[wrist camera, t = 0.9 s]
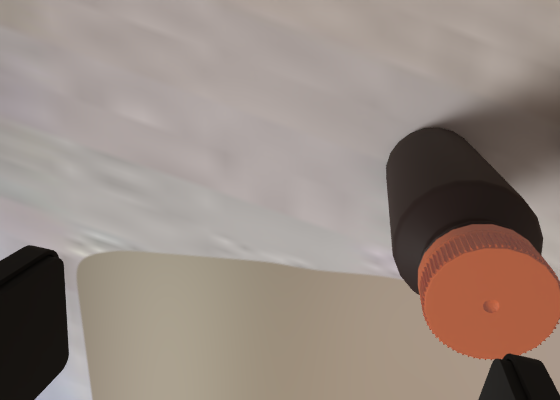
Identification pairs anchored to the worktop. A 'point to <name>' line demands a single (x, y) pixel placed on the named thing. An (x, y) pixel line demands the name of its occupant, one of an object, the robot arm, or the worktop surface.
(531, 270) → the vinegar
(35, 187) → the worktop surface
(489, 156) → the worktop surface
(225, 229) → the worktop surface
